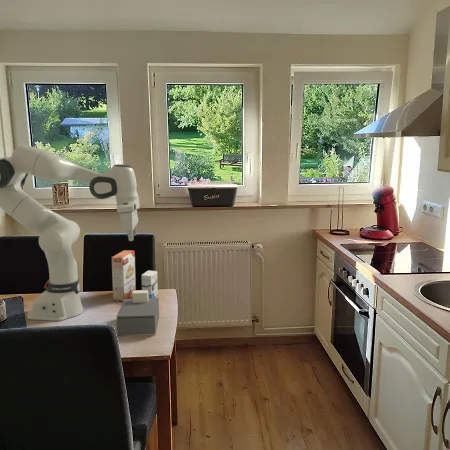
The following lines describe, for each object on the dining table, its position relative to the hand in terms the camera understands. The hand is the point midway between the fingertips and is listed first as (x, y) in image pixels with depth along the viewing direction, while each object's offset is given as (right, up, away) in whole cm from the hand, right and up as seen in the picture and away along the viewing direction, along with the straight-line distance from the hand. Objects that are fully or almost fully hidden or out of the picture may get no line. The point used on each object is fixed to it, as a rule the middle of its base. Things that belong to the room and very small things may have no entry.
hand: (133, 238), depth 169 cm
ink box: (+2, -29, +27) cm, 39 cm away
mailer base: (+4, -35, -5) cm, 35 cm away
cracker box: (-10, -29, +28) cm, 41 cm away
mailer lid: (+4, -27, -6) cm, 28 cm away
